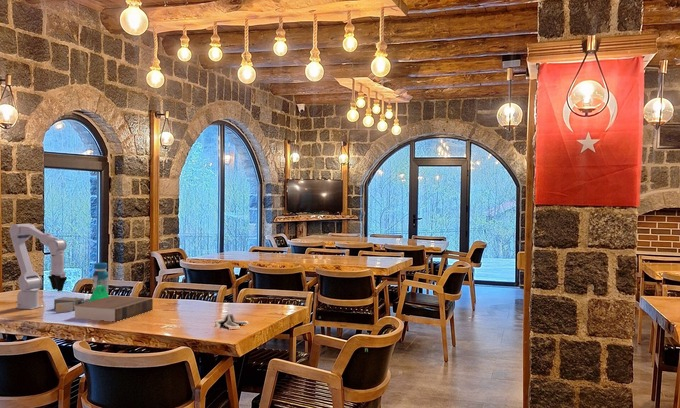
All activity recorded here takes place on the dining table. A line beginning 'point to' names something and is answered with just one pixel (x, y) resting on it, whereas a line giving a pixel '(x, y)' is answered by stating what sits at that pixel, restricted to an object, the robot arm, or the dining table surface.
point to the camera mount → (99, 293)
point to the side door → (65, 307)
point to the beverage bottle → (100, 275)
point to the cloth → (229, 322)
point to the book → (113, 308)
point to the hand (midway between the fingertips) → (57, 290)
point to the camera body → (68, 300)
